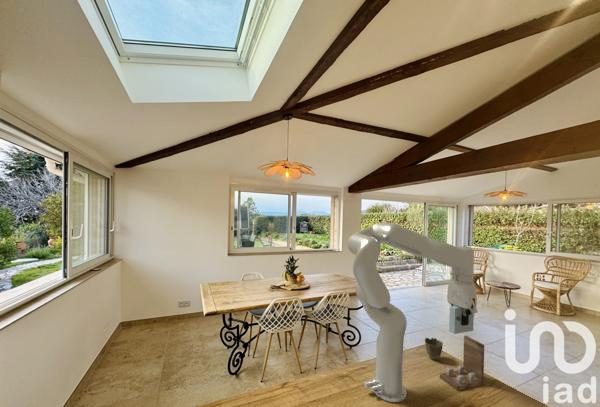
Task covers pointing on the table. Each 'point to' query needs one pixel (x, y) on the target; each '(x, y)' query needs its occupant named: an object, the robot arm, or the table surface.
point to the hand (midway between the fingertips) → (461, 322)
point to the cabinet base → (467, 367)
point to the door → (459, 321)
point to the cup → (433, 348)
